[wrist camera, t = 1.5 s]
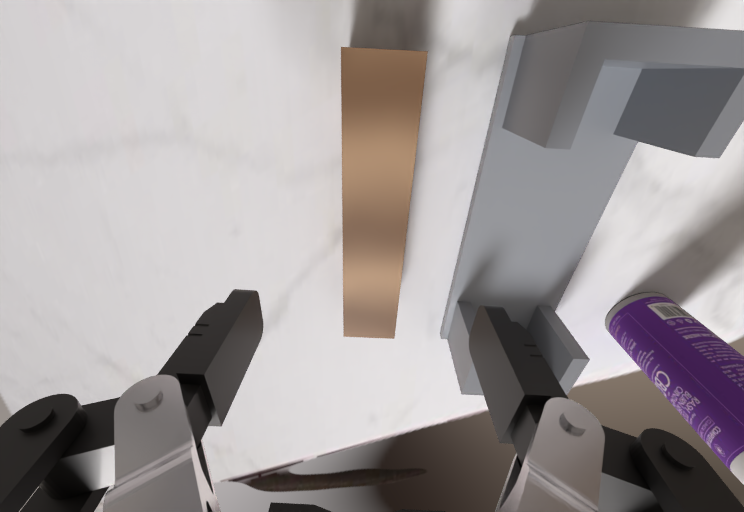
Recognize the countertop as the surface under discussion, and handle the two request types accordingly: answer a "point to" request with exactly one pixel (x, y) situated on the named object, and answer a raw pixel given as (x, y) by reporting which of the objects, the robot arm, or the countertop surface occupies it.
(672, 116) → the endcap rail
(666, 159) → the countertop surface
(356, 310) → the slat
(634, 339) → the container
